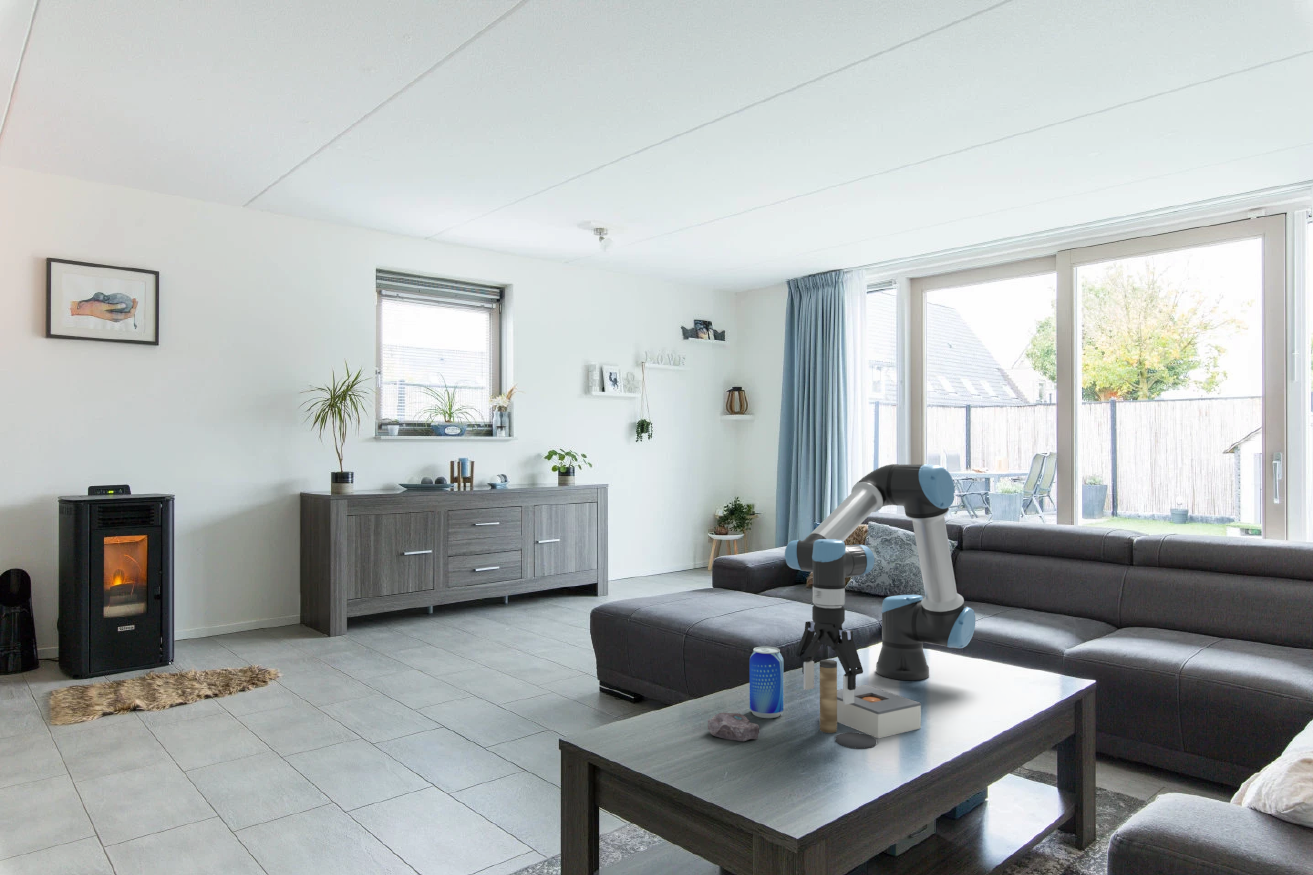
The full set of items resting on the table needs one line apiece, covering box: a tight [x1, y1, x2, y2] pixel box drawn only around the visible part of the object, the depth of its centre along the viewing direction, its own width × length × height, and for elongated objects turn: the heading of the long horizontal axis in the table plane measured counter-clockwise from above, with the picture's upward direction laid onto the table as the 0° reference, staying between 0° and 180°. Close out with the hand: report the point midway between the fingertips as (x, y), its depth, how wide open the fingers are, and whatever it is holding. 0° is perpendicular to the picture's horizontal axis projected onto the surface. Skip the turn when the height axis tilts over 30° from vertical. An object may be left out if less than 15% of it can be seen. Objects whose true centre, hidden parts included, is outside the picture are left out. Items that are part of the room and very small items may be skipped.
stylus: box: [819, 659, 838, 734], centre depth 194 cm, size 4×4×16 cm
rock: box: [707, 712, 760, 742], centre depth 189 cm, size 8×11×5 cm
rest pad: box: [835, 731, 877, 750], centre depth 186 cm, size 9×9×1 cm
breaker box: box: [837, 684, 922, 739], centre depth 199 cm, size 18×14×6 cm
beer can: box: [749, 646, 784, 719], centre depth 206 cm, size 8×8×16 cm
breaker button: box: [862, 697, 881, 702], centre depth 200 cm, size 4×4×2 cm
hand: (828, 695), depth 194 cm, fingers open, 13 cm apart
